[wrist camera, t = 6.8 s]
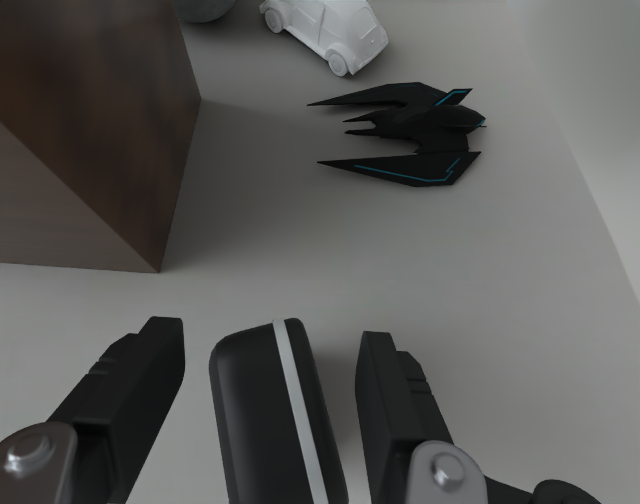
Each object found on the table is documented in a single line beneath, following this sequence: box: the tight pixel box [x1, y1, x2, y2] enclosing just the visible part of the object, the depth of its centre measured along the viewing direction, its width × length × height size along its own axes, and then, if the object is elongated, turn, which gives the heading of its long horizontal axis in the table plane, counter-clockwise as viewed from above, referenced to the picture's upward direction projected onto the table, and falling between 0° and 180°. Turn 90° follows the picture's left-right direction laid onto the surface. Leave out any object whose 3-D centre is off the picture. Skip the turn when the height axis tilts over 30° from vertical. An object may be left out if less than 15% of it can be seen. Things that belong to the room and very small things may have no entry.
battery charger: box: [209, 318, 349, 504], centre depth 16 cm, size 7×4×11 cm, turn 16°
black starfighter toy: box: [307, 82, 487, 187], centre depth 29 cm, size 11×15×3 cm
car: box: [259, 0, 389, 76], centre depth 32 cm, size 12×6×5 cm, turn 52°
